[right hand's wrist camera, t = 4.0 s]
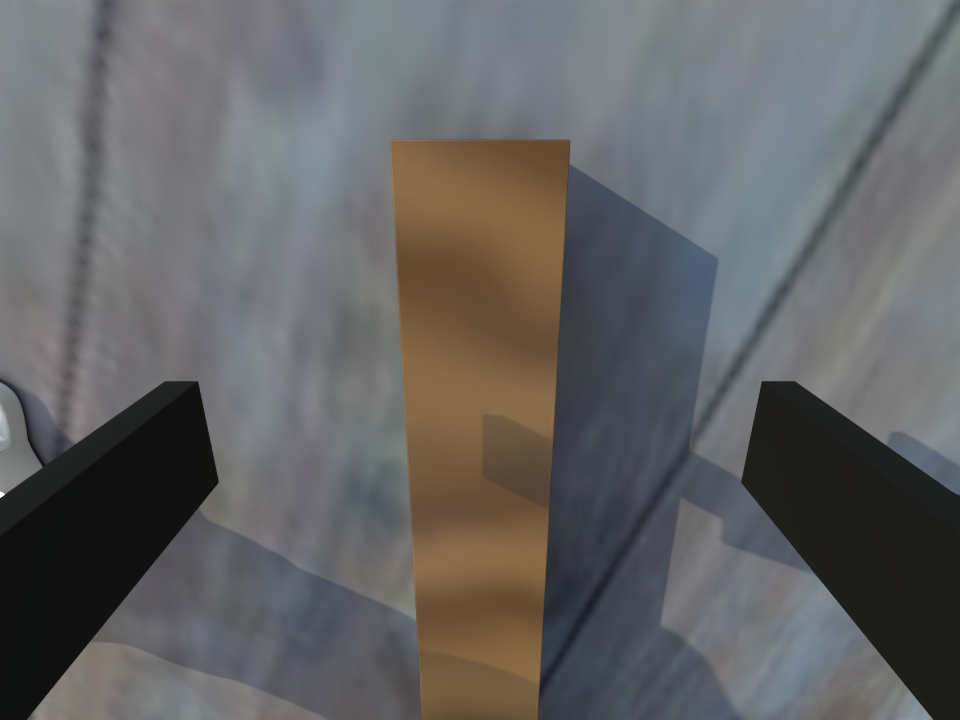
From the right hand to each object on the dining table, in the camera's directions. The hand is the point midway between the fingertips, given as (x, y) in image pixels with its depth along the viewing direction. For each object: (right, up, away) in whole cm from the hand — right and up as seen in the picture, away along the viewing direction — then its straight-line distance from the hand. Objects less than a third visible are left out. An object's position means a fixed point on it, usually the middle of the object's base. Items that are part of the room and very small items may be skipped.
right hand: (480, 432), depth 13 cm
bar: (0, -14, +21) cm, 25 cm away
